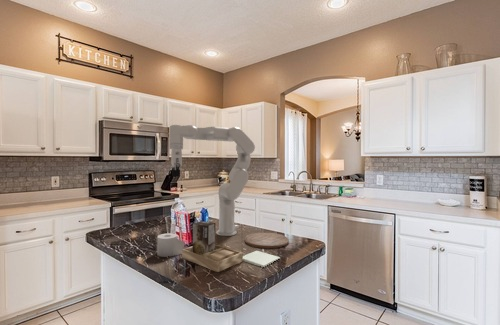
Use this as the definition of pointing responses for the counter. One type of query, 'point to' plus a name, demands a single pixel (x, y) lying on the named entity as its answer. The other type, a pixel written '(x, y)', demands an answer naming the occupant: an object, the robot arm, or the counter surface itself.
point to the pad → (260, 258)
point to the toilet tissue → (169, 245)
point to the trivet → (266, 240)
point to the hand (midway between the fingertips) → (175, 176)
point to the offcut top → (221, 255)
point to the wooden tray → (209, 263)
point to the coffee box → (203, 237)
